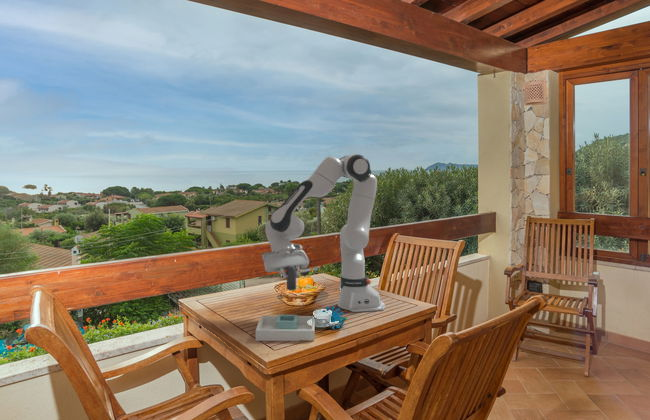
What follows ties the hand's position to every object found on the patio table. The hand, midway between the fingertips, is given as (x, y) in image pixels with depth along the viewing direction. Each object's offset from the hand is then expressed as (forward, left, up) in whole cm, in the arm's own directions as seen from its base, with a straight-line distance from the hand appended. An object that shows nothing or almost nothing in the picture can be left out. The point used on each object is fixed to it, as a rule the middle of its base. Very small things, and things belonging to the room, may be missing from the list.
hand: (292, 277), depth 176 cm
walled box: (+1, +15, -18) cm, 24 cm away
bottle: (0, -1, -5) cm, 5 cm away
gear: (-18, +9, -19) cm, 27 cm away
